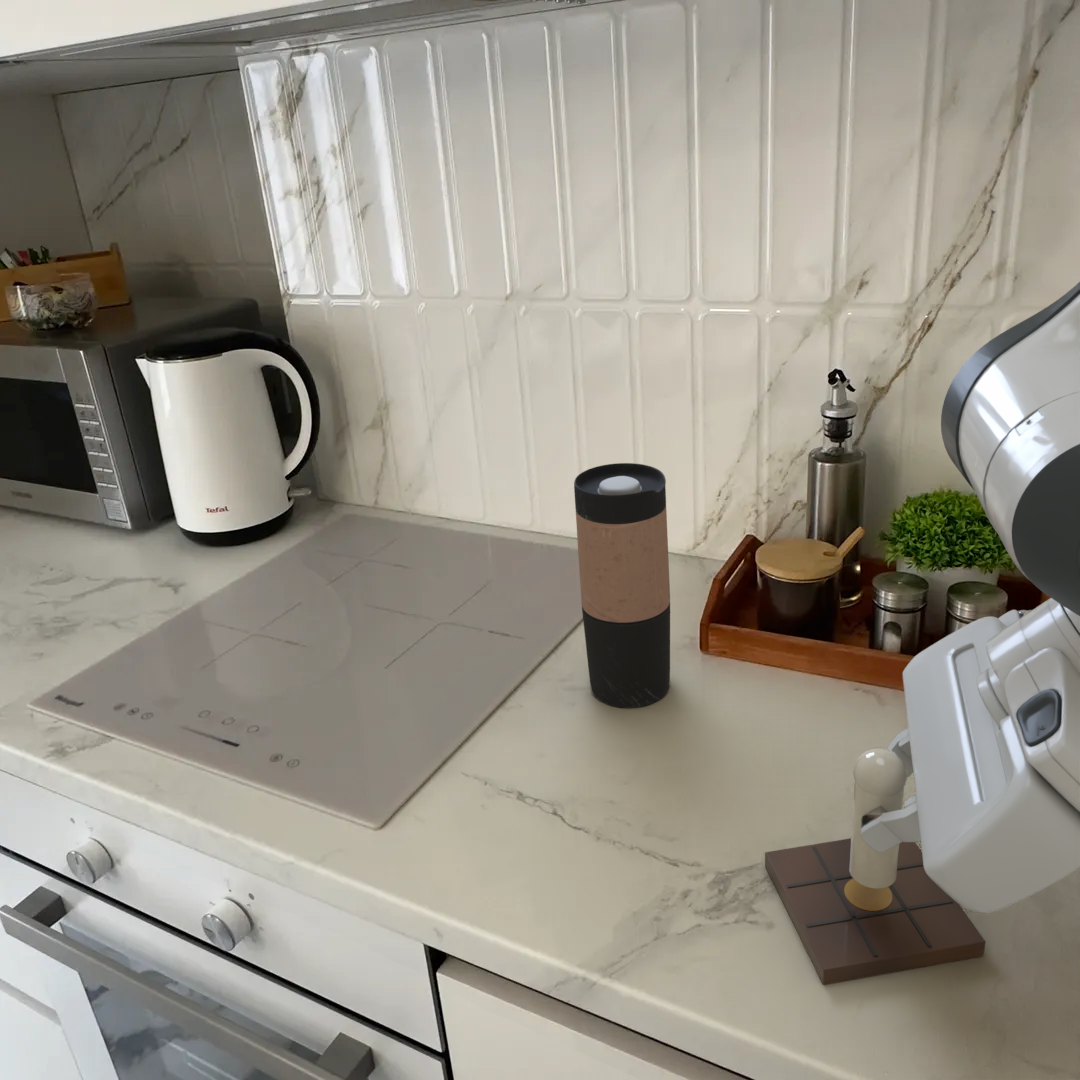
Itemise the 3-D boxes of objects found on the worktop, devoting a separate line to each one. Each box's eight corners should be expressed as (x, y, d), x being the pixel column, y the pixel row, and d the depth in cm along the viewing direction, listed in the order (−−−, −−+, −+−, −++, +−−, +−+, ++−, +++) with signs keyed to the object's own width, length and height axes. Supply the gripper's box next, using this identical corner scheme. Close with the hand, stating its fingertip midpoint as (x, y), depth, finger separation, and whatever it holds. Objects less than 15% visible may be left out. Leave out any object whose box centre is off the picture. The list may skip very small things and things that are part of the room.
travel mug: (576, 674, 90) (560, 472, 82) (652, 656, 92) (644, 456, 84) (605, 718, 84) (591, 502, 75) (687, 697, 85) (681, 484, 77)
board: (904, 842, 67) (905, 828, 67) (983, 956, 58) (986, 940, 58) (764, 865, 66) (764, 851, 66) (823, 985, 57) (823, 969, 57)
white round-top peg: (884, 852, 62) (893, 734, 58) (907, 886, 59) (918, 764, 56) (839, 860, 62) (846, 741, 58) (860, 894, 59) (868, 772, 55)
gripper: (999, 565, 61) (830, 686, 68) (1067, 767, 43) (828, 904, 50) (1068, 632, 62) (894, 745, 68) (1163, 858, 44) (915, 981, 50)
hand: (866, 814), depth 59 cm, fingers closed on white round-top peg, 3 cm apart
